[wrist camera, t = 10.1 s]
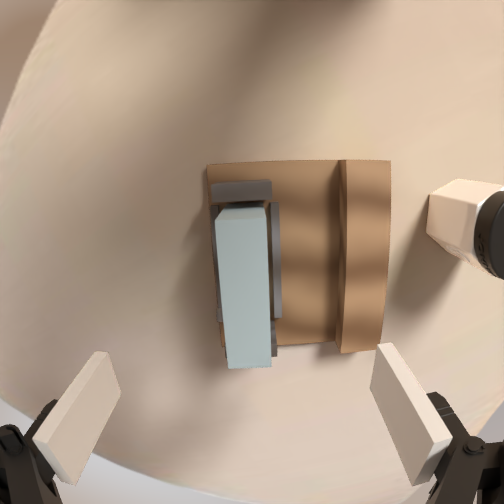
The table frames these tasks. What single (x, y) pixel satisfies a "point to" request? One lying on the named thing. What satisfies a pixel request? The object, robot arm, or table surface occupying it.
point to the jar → (470, 223)
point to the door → (244, 284)
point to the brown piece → (316, 245)
